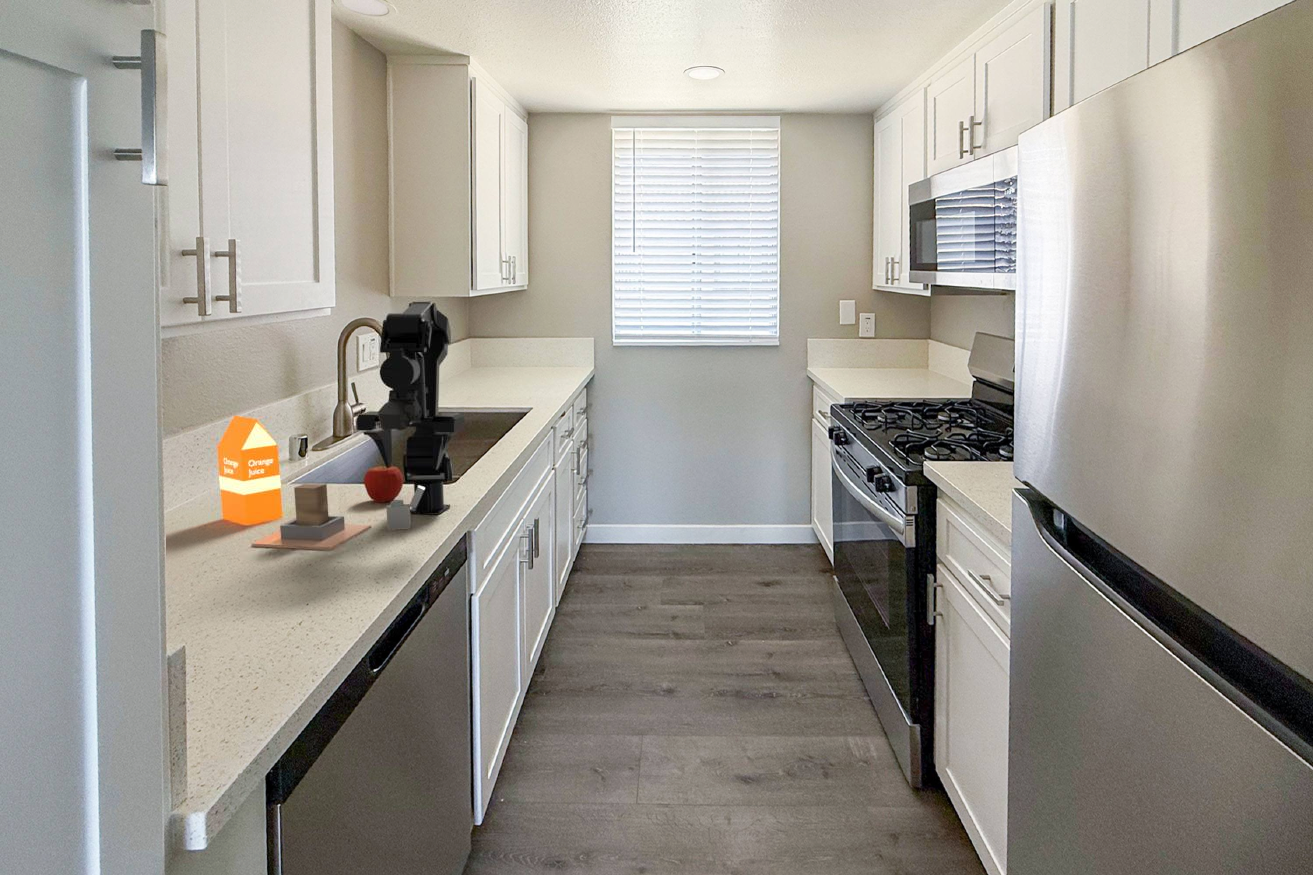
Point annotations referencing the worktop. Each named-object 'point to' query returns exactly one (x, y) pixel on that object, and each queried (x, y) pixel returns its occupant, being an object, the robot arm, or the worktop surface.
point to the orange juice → (249, 473)
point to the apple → (383, 483)
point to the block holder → (313, 535)
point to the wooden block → (311, 504)
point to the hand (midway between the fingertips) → (412, 468)
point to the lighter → (402, 511)
